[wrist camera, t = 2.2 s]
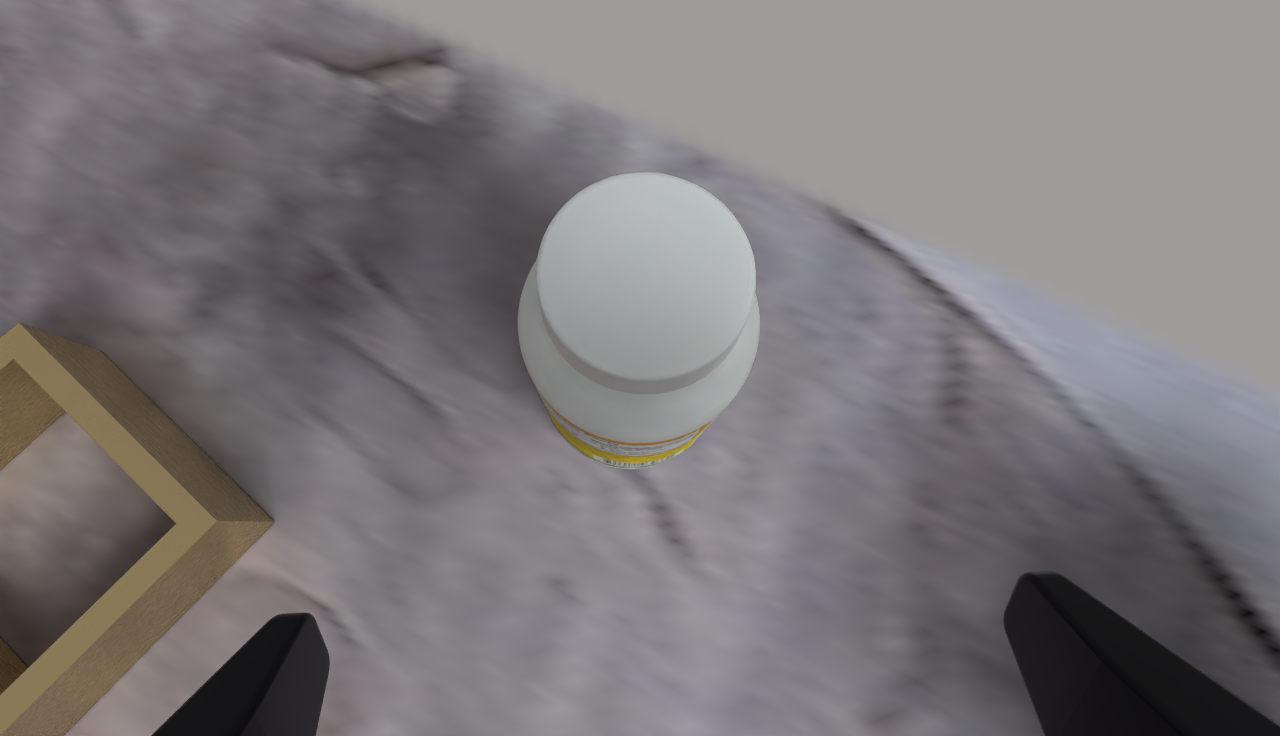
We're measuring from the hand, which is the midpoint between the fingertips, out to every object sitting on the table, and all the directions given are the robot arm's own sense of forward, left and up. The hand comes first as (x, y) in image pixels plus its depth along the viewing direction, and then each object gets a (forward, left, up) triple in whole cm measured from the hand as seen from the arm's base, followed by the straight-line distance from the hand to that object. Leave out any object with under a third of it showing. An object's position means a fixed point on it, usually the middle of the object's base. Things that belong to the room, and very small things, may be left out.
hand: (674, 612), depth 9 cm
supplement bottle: (+4, +4, -12) cm, 13 cm away
